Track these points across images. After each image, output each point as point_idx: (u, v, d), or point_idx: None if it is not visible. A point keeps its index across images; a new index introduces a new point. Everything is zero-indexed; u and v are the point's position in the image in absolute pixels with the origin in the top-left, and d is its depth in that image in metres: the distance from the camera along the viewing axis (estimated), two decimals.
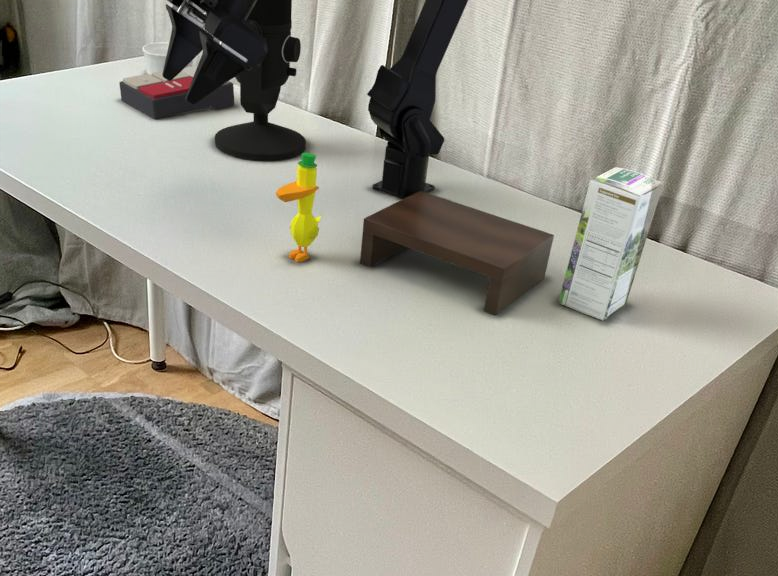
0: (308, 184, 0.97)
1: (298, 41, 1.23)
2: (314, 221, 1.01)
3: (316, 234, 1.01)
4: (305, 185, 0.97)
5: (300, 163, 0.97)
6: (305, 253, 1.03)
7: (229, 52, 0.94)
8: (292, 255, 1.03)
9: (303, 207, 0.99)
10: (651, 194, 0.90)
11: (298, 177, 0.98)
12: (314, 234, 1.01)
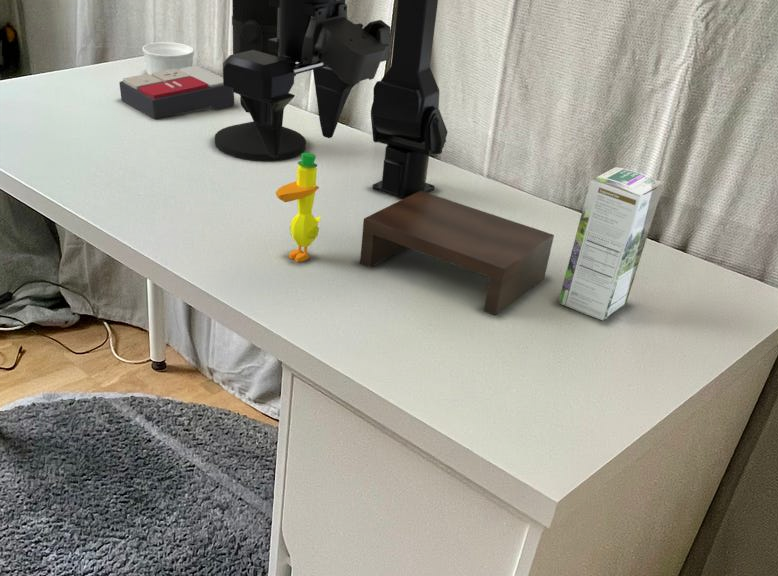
0: (308, 184, 0.97)
1: None
2: (314, 221, 1.01)
3: (316, 234, 1.01)
4: (305, 185, 0.97)
5: (300, 163, 0.97)
6: (305, 253, 1.03)
7: None
8: (292, 255, 1.03)
9: (303, 207, 0.99)
10: (652, 194, 0.90)
11: (298, 177, 0.98)
12: (314, 234, 1.01)
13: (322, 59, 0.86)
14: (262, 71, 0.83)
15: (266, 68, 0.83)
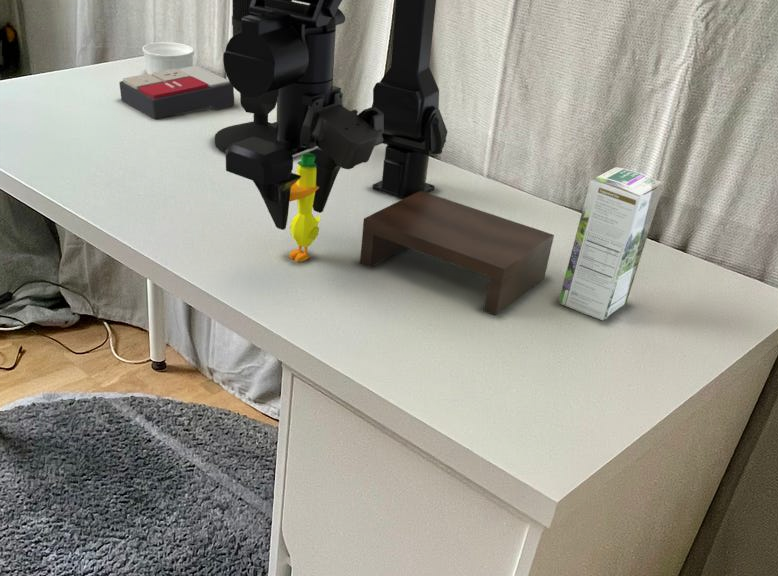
0: (308, 184, 0.97)
1: None
2: (314, 221, 1.01)
3: (316, 234, 1.01)
4: (305, 185, 0.97)
5: (300, 163, 0.97)
6: (305, 253, 1.03)
7: None
8: (292, 255, 1.03)
9: (303, 207, 0.99)
10: (651, 194, 0.90)
11: None
12: (314, 234, 1.01)
13: (319, 145, 0.91)
14: (263, 160, 0.88)
15: (266, 157, 0.88)
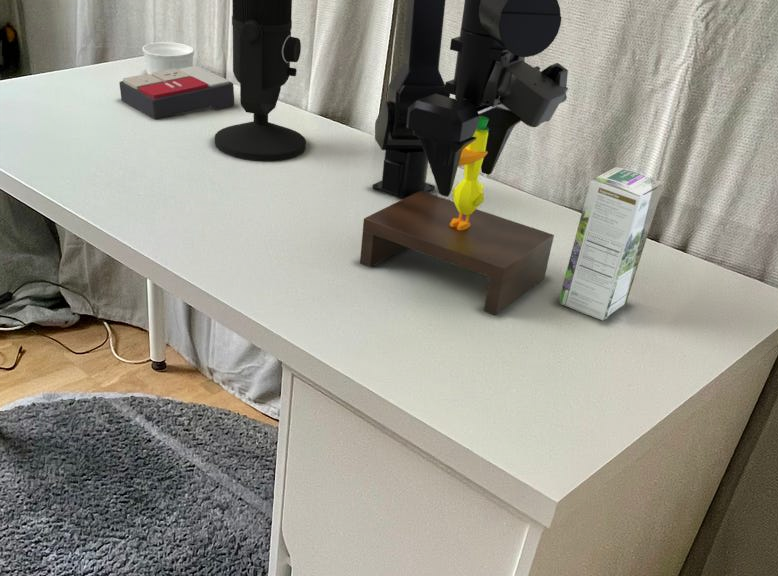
0: (479, 148, 0.94)
1: (298, 41, 1.23)
2: (480, 187, 0.98)
3: (481, 201, 0.98)
4: (476, 149, 0.94)
5: None
6: (467, 221, 1.00)
7: None
8: (454, 223, 1.00)
9: (471, 172, 0.96)
10: (651, 194, 0.90)
11: None
12: (480, 201, 0.98)
13: (504, 102, 0.88)
14: (453, 116, 0.84)
15: (457, 113, 0.84)
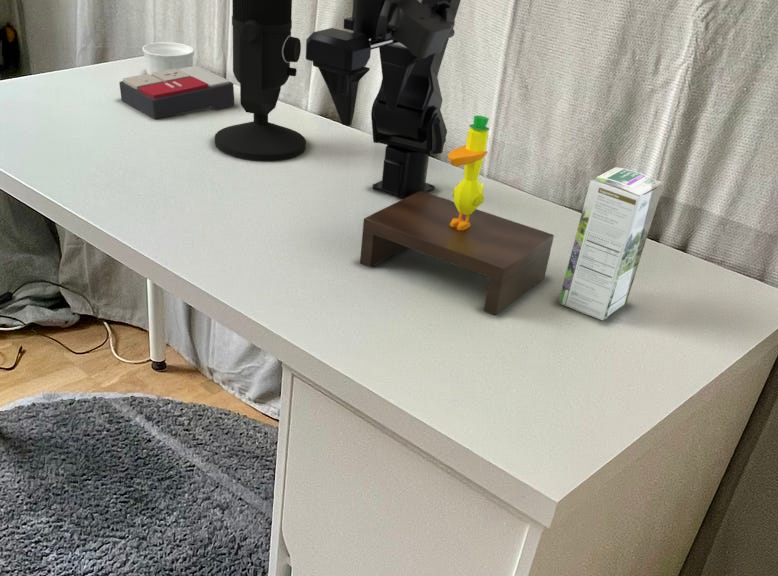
0: (479, 148, 0.94)
1: (298, 41, 1.23)
2: (480, 187, 0.98)
3: (481, 201, 0.98)
4: (476, 149, 0.94)
5: (472, 126, 0.94)
6: (467, 221, 1.00)
7: None
8: (454, 223, 1.00)
9: (471, 172, 0.96)
10: (652, 194, 0.90)
11: (469, 141, 0.94)
12: (480, 201, 0.98)
13: (395, 36, 0.96)
14: (344, 46, 0.92)
15: (348, 43, 0.92)
